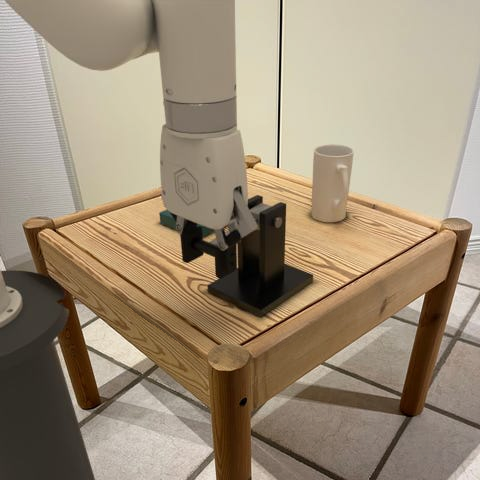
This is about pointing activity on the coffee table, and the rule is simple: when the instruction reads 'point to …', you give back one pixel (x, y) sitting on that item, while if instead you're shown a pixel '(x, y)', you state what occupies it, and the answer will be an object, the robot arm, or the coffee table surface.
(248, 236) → the bracket
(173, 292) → the coffee table surface
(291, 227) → the coffee table surface
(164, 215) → the button box
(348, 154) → the mug
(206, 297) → the coffee table surface
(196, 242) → the lever
